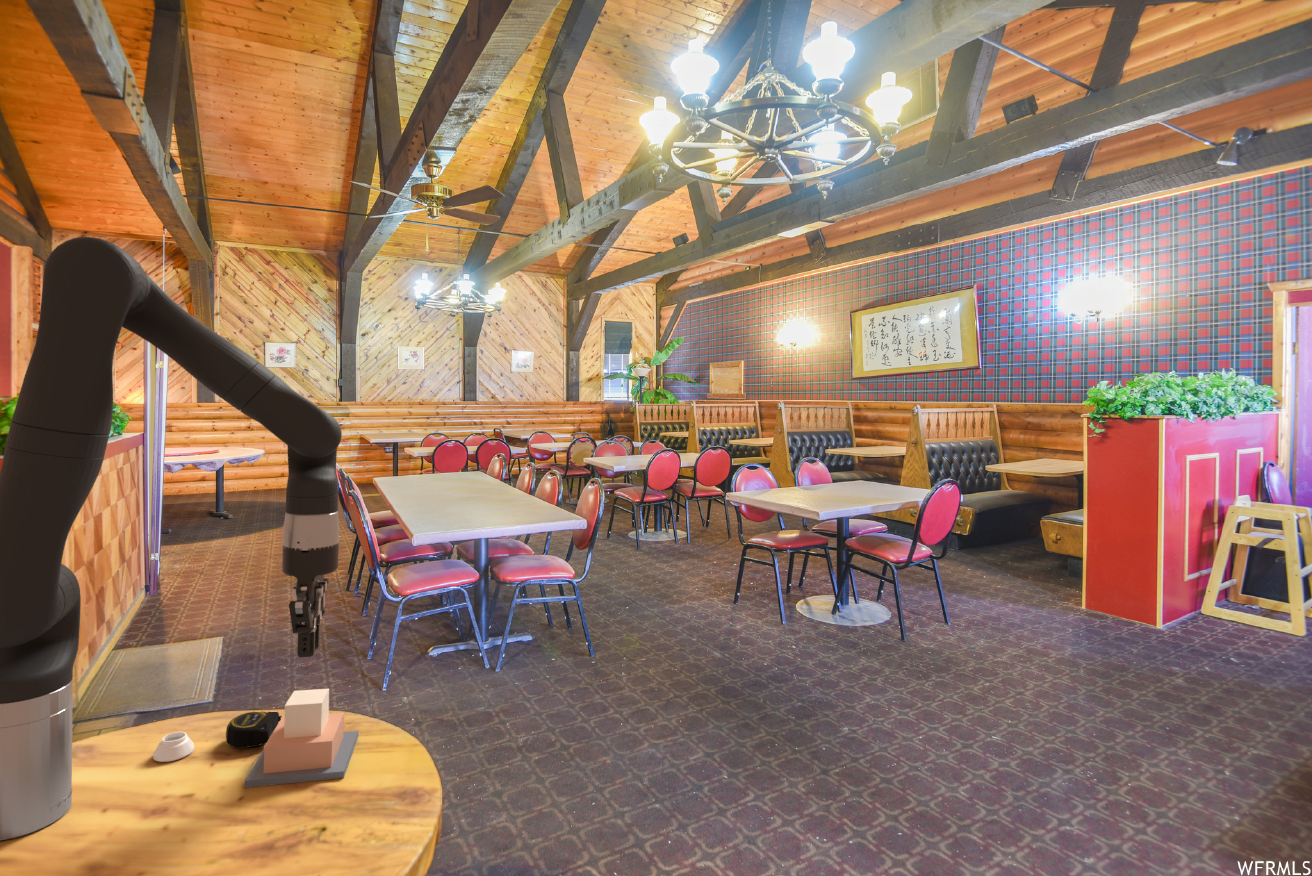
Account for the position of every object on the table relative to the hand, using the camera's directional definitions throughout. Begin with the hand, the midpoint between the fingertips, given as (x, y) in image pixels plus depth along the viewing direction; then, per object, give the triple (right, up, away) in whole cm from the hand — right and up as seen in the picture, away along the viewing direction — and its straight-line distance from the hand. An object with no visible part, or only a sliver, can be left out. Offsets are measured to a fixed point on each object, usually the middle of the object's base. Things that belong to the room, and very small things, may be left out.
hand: (308, 651), depth 97 cm
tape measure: (-12, -17, +6) cm, 21 cm away
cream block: (-1, -12, +1) cm, 12 cm away
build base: (-1, -17, +1) cm, 17 cm away
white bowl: (-21, -16, +1) cm, 27 cm away
